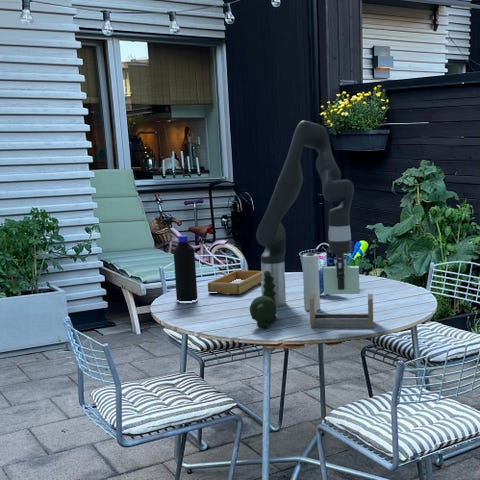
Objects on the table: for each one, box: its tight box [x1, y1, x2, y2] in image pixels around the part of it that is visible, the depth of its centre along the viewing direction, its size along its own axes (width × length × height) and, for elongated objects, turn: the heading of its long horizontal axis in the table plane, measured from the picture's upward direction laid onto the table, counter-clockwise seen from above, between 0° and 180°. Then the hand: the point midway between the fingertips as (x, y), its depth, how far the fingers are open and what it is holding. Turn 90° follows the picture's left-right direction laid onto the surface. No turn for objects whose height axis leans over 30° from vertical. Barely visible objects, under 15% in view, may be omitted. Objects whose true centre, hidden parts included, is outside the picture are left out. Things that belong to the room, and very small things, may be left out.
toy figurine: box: [249, 271, 278, 329], centre depth 222 cm, size 9×19×25 cm
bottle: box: [173, 234, 198, 301], centre depth 261 cm, size 9×9×28 cm
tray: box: [207, 270, 262, 295], centre depth 285 cm, size 31×15×6 cm, turn 157°
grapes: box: [319, 268, 330, 296], centre depth 261 cm, size 12×7×12 cm, turn 78°
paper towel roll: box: [302, 252, 321, 312], centre depth 238 cm, size 7×6×21 cm
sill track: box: [309, 293, 374, 329], centre depth 215 cm, size 21×8×10 cm, turn 79°
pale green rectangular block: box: [322, 265, 361, 295], centre depth 214 cm, size 12×4×9 cm, turn 79°
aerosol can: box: [325, 247, 337, 267], centre depth 278 cm, size 8×8×20 cm
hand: (341, 287), depth 214 cm, fingers closed on pale green rectangular block, 3 cm apart
